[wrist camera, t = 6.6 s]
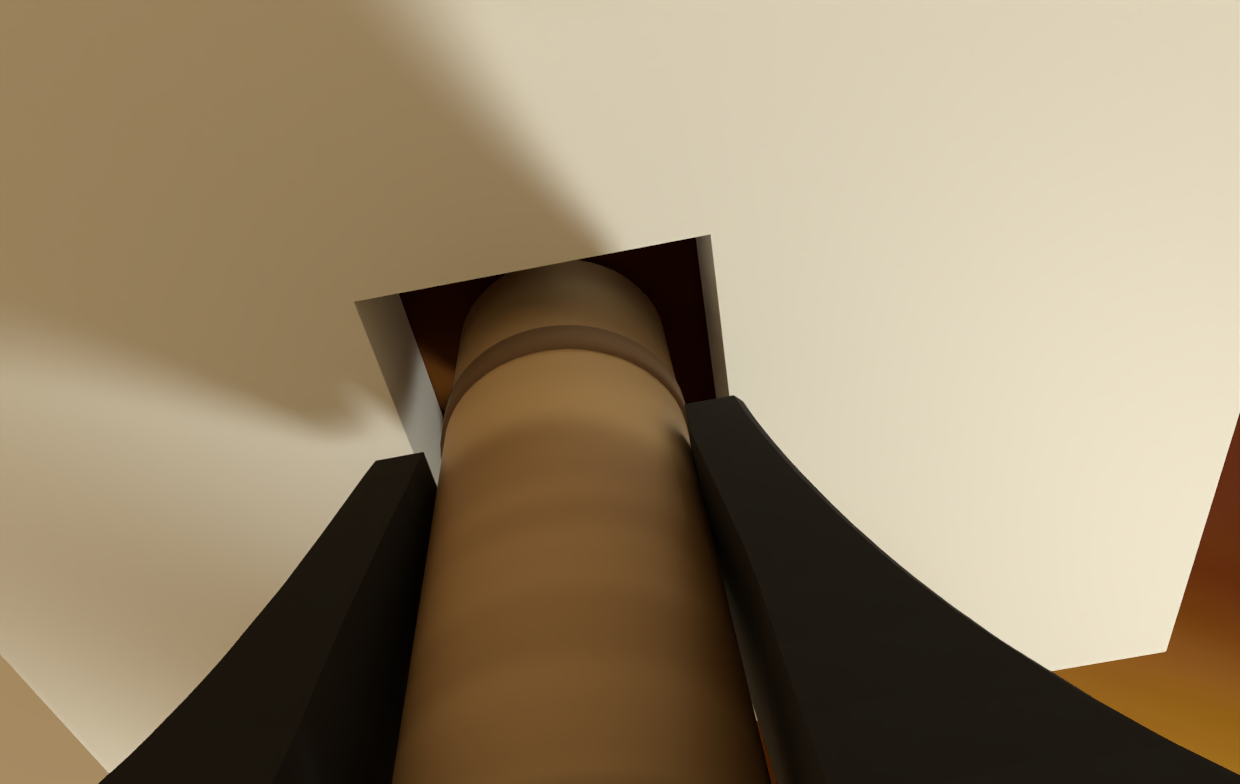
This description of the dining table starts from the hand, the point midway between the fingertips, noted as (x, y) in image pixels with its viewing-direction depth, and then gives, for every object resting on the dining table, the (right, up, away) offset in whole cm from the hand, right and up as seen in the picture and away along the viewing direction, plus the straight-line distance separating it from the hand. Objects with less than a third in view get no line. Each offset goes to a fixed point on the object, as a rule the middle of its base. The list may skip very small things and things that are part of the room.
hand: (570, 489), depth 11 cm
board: (0, +2, +3) cm, 4 cm away
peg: (0, +2, +3) cm, 3 cm away
